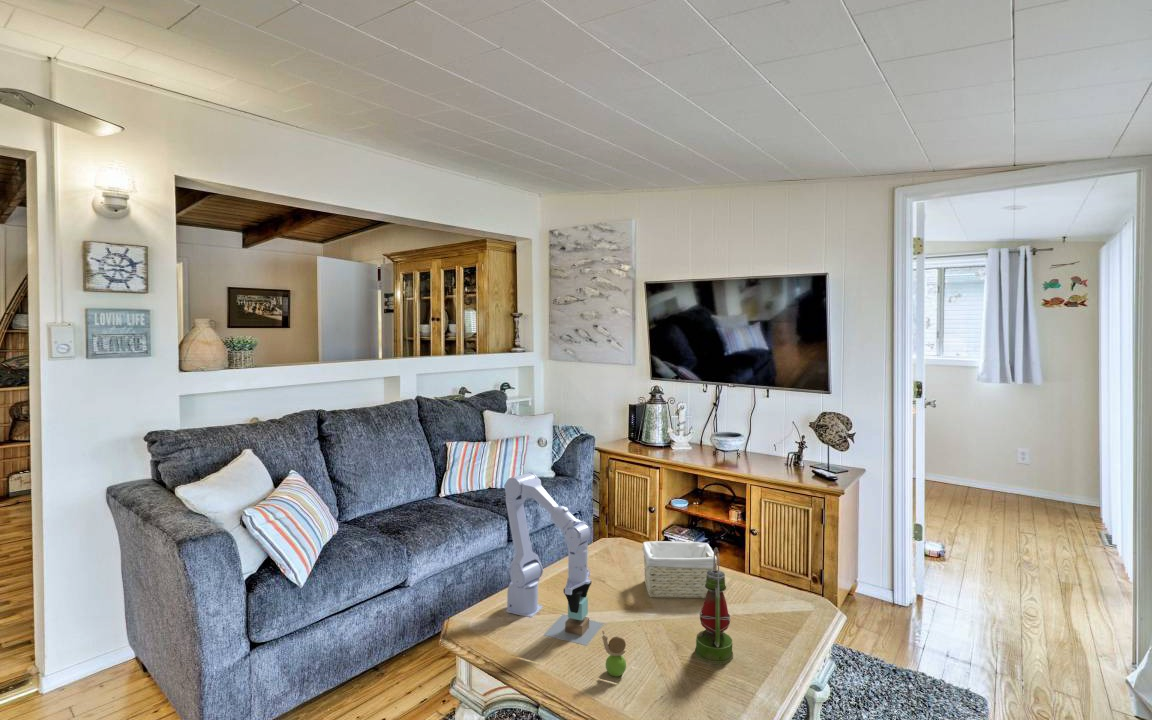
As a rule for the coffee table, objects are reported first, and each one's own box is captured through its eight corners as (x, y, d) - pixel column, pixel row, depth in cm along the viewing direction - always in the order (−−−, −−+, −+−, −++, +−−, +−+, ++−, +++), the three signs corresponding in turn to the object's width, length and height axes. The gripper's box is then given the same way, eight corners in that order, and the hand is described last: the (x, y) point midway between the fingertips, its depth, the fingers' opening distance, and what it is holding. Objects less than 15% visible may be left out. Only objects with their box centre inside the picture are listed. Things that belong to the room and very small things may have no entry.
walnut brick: (565, 632, 178) (565, 622, 178) (572, 623, 183) (572, 614, 183) (582, 636, 176) (582, 626, 176) (589, 627, 181) (589, 617, 181)
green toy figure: (600, 669, 160) (601, 626, 159) (624, 668, 160) (624, 625, 160) (603, 681, 155) (603, 636, 154) (627, 680, 155) (628, 635, 154)
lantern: (692, 639, 175) (694, 539, 174) (729, 641, 174) (731, 541, 173) (697, 666, 162) (699, 558, 160) (737, 668, 161) (740, 560, 159)
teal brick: (568, 617, 178) (568, 601, 178) (574, 611, 182) (574, 595, 182) (581, 620, 176) (581, 604, 176) (587, 613, 181) (587, 597, 180)
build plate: (543, 636, 177) (543, 635, 177) (562, 615, 189) (563, 614, 189) (586, 646, 171) (586, 645, 171) (604, 624, 184) (604, 623, 184)
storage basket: (706, 580, 216) (707, 540, 215) (717, 601, 200) (718, 558, 199) (641, 580, 216) (641, 540, 215) (646, 600, 200) (647, 557, 199)
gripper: (580, 575, 170) (580, 621, 171) (599, 557, 184) (598, 600, 184) (558, 571, 173) (558, 616, 174) (578, 554, 186) (577, 596, 187)
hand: (577, 608), depth 179 cm, fingers closed on teal brick, 4 cm apart
